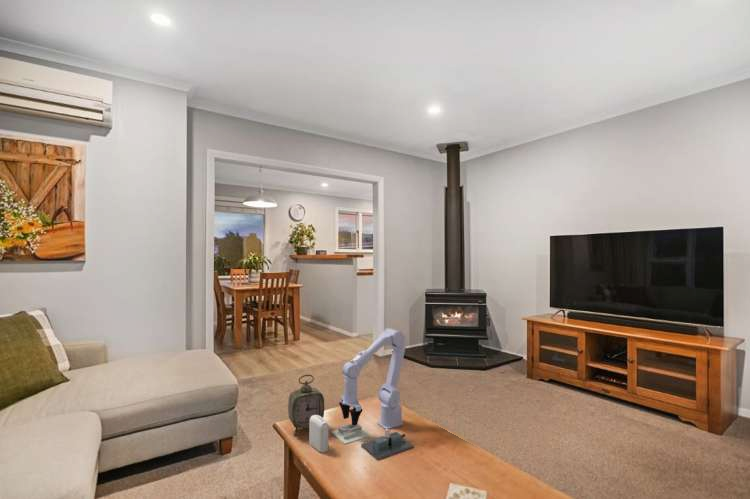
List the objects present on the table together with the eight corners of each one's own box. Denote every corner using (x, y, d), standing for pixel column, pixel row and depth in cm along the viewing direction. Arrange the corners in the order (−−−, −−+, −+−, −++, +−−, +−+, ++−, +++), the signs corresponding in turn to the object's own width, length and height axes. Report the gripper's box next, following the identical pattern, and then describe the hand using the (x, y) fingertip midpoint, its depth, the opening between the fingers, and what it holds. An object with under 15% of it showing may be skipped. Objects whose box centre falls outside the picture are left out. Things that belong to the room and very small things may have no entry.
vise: (396, 435, 165) (396, 418, 165) (413, 447, 155) (413, 429, 155) (361, 446, 155) (361, 428, 155) (377, 460, 145) (377, 440, 145)
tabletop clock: (291, 438, 161) (292, 380, 161) (286, 429, 169) (287, 373, 169) (324, 431, 168) (324, 375, 168) (317, 422, 176) (318, 369, 176)
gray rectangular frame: (355, 428, 170) (355, 422, 170) (361, 433, 166) (361, 426, 166) (338, 434, 165) (338, 427, 165) (343, 439, 160) (343, 432, 160)
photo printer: (307, 443, 157) (308, 413, 157) (316, 440, 160) (317, 411, 160) (320, 454, 149) (320, 422, 149) (329, 450, 152) (330, 419, 152)
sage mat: (354, 425, 173) (354, 425, 173) (368, 436, 163) (368, 436, 163) (331, 432, 167) (331, 431, 167) (344, 444, 157) (344, 443, 157)
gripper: (334, 387, 169) (334, 417, 169) (351, 398, 157) (350, 430, 157) (348, 384, 173) (348, 413, 173) (365, 394, 161) (365, 426, 161)
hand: (350, 421), depth 165 cm, fingers open, 7 cm apart
